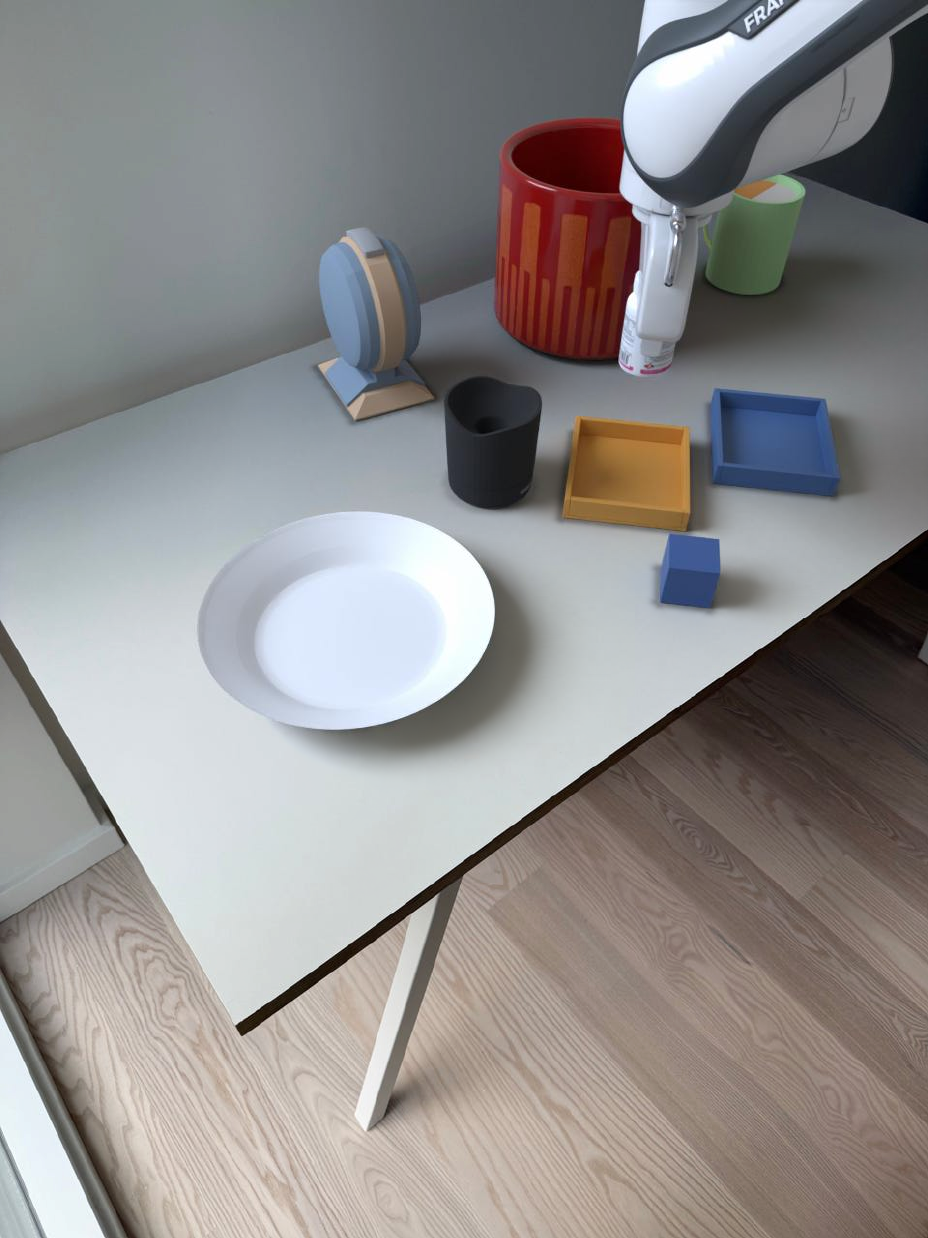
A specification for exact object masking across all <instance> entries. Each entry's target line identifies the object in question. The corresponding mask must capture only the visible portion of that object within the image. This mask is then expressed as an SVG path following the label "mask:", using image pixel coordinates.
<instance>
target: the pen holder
mask: <svg viewBox="0 0 928 1238" xmlns="http://www.w3.org/2000/svg"><path fill="white" fill-rule="evenodd" d="M443 409H444V411H443V412H444V425H445V426H444V430H445V447H446V464H447V478H448V484H449V487H450V489H451V491H452V493H454V495H455V496H456V497H458V499H460V500H461V501H463V502H465V503H466V504H468V505H472V506H474V507H477V508H484V509H498V508H499V509H501V508H504V507H509V506H512V505H513V504H516V503H517V502H519V501H520V500H522V499H523V498H524V497H526V496H527V494H528V493H529V492H530V489H531V487H532V483H533V478H534V472H535V465H536V457H537V450H538V443H539V434H540V428H541V427H540V425H541V420H542V419H541V418H542V411H543V410H542V409H543V399H542V396H541V394H540V392H539V391H538V390H537V389H536V388H534V387H532V386H529V385H523V384H522V385H521V384H520V385H519V384H512V383H508V382H505V381H503V380H501V379H498V378H495V377H493V376H489V375H482V374H479V375H471V376H468V377H465V378H463V379H460V380H458V381H457V382H455V383H454V384H452V385H451V386H450V387H449V388H448V389H447V390H446V392H445V394H444V398H443Z"/></svg>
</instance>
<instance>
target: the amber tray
mask: <svg viewBox="0 0 928 1238" xmlns="http://www.w3.org/2000/svg"><path fill="white" fill-rule="evenodd" d="M690 431H691V428H690V426H684V425H683V426H682V425H673V424H672V425H671V424H663V423H652V422H642V421H633V420H623V419H613V418H605V417H593V416H585V415H575V420H574V428H573V434H572V442H571V449H570V455H569V463H568V471H567V479H566V484H565V485H566V486H565V493H564V499H563V508H562V518H565V519H573V520H581V521H591V522H601V523H607V524H617V525H626V526H633V527H643V528H652V529H660V530H661V529H662V530H671V531H679V532H687V528H688V525H689V520H690V516H691V437H690V436H691V435H690V434H691V432H690Z"/></svg>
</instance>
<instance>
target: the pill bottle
mask: <svg viewBox="0 0 928 1238" xmlns="http://www.w3.org/2000/svg"><path fill="white" fill-rule="evenodd" d="M638 282H639V271H638V272H637V273H636V276H635V281H634V290H633V291H634V292H633V293H632V294H631V295H630V296H629V298H628V301H627V306H626V312H625V319H624V326H623V332H622V339H621V346H620V352H619V358H618V365H619V366H620V368H621V369H622V370H623V371H624V372H625V373H627V374H629V375H631V376H633V377H638V378H645V379H652V378H659V377H660V376H663V375H665V374H667V372H668V371H670V369H671V366H672V363H673V358H674V353H675V348H676V344H677V341H676V342H664V341H663V345H662V350H661V354H660V355H659V356H657V357H651V356H643V355H642V354H641V353H640V342H641V339H640V338H638V337H637V335H636V315H637V298H638Z"/></svg>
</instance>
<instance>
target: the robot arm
mask: <svg viewBox="0 0 928 1238" xmlns="http://www.w3.org/2000/svg"><path fill="white" fill-rule="evenodd" d="M926 14H928V0H644V3H643V10H642V17H641V21H640V30H639V37H638V44H637V52H636V58H635V59H634V62H633V65H632V66H631V69H630V71H629V73H628V76H627V78H626V79H627V80H626V82H625V86H624V89H623V92H622V93H623V94H622V98H621V105H620V113H619V114H620V115H619V116H620V117H619V119H620V129H621V136H622V142H623V145H624V156H623V164H622V172H621V179H620V192H621V194H622V196H623V197H624V198H625V199H626V200H627V201H628V202H630V203H631V204H633V208H632V213H633V215H634V216H635V218H636V219H637V220H639V221H640V222H641V229H642V231H641V248H640V265H639V282H638V298H637V315H636V335H637V337H638V338H640V339H641V342H640V353H641V354H642V355H643V356H651V357H657V356H659V355H660V354H661V350H662V345H663V341H664V342H676V343H677V342H678V341H680V340H681V338H682V336H683V334H684V332H685V328H686V323H687V318H688V313H689V307H690V302H691V297H692V291H693V287H694V281H695V275H696V269H697V263H698V262H697V261H698V252H699V229H701V228H703V226H705V225H707V226H708V224H710V222H711V221H712V219H713V214H714V213H716V212H717V213H718V212H719V210H722V209H723V208H725V207H726V206H728V205H729V204H730V202H731V201H732V199H733V195H734V190H735V189H736V188H739V187H742V186H745V185H748V184H751V183H754V182H758V181H761V180H764V179H767V178H770V177H773V176H776V175H779V174H781V175H783V174H784V173H788V172H790V171H793V170H797V169H798V168H801V167H805V166H808V165H810V164H813V163H817V162H819V161H822V160H825V159H828V158H831V157H833V156H836V155H837V154H839V153H842V152H843V151H846V150H849V149H851V148H852V147H854V146H856V145H857V144H858V143H860V142H861V141H862V140H863V139H865V137H866V136H867V135H868V134H869V133H870V132H871V131H872V130H873V128H874V127H875V125H876V123H877V121H878V120H879V119H880V117H881V115H882V113H883V111H884V109H885V107H886V104H887V101H888V98H889V95H890V92H891V88H892V84H893V80H894V79H893V78H894V69H895V53H894V45H893V40H892V36H893V35H894V34H896V33H897V32H898V31H900V30H902V29H903V28H904V27H906V26H907V25H909V24H911V23H912V22H914V21H916V20H917V19H919V18H921V17H923V16H924V15H926Z"/></svg>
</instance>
